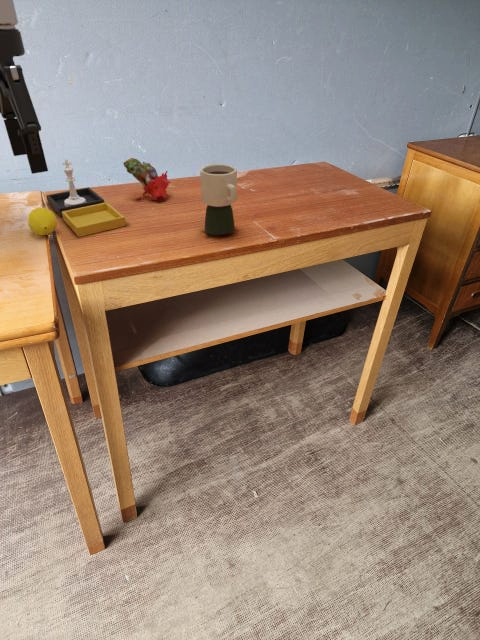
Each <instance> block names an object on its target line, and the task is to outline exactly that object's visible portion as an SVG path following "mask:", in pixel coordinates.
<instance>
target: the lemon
mask: <svg viewBox="0 0 480 640" xmlns="http://www.w3.org/2000/svg"><path fill="white" fill-rule="evenodd" d="M27 224H28V226H29V229H30V230H31V231H32V232H33V233H35V234H37V235H39V236H46V235H51V234H52V233H53V232H55V230H56V228H57V226H58V220H57V217H56V215H55V214H54V212H53V211H52V210H50V209H49V208H46V207H39V206H38V207H36V208H34V209H32V210H31V211H30V212H29V213H28V218H27Z"/></svg>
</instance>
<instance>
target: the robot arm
mask: <svg viewBox="0 0 480 640" xmlns="http://www.w3.org/2000/svg"><path fill="white" fill-rule="evenodd" d="M16 11H17V10H16V8H15V3H14V0H0V115H1V117H2V119H3V123H4V126H5V131H6V134H7V137H8V140H9V144H10V148H11V150H12V155H13V157H18V156H24V155H26V157H27V161H28V165H29V168H30V169H29V170H30V172H31V174H33V175H34V174H39V173H45V172H49V168H48V165H47V160H46V156H45V151H44V149H43V144H42V140H41V136H40V132H41V131H42V125H41V123H40V121H39V118H38V115H37V112H36V110H35V107H34V104H33V101H32V98H31V95H30V91H29V89H28V86H27V83H26V80H25V76H24V72H23V67H22V66H21V64H17V65H16V63H15V61H14V57H22V56H24V55H25V53H26V50H25V47H24V46H25V45H24V42H23V38H22V33H21V31H19V28H16V26H18V24H19V20H18V16H17V12H16Z"/></svg>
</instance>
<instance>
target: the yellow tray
mask: <svg viewBox="0 0 480 640" xmlns="http://www.w3.org/2000/svg"><path fill="white" fill-rule="evenodd" d="M62 216H63V217H62V219H63V221H64V223H65V224H66V225H67V226H68V227H69V228H70V229H71V230H72V231H73V233H75V234H76V236H77V237H79V238H80V237H84V236H88V235H92V234H97V233H100V232H101V233H102V232H105V231H109V230H113V229H119V228H123V227H125V226H127V224H126V217H125V216H124V215H123V214H122V213H120V212H119V211H118V210H117V209H116V208H114V207H113V206H112V205H111V204H110V203H109V202H104V203H101V204H96V205H91V206H86V207H82V208H77V209H72V210H67V211H62Z"/></svg>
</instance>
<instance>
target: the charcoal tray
mask: <svg viewBox="0 0 480 640" xmlns="http://www.w3.org/2000/svg"><path fill="white" fill-rule="evenodd" d="M76 192H77V195H79V197H83V198H85V200H86V203H81V204H76V205H71V206H65V205H64V204H65V203H64V201H65V200H66V199H68V198H69V196H70V190H67V191H66V190H65V191H62V192H56V193H51V194H46V200H47V203H48V205H49V206H50V207H51V208H52V209H53V210H54V211H55V212H56V214H57V215H58V216H59V217H60V218H63V216H62V211H67V210H72V209H77V208H82V207H86V206H91V205H96V204H101V203H105V199H104V198H102V196H100V194H97V192H95V191H94V190H93V189H92V188H90V187H83V188H77V189H76Z"/></svg>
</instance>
